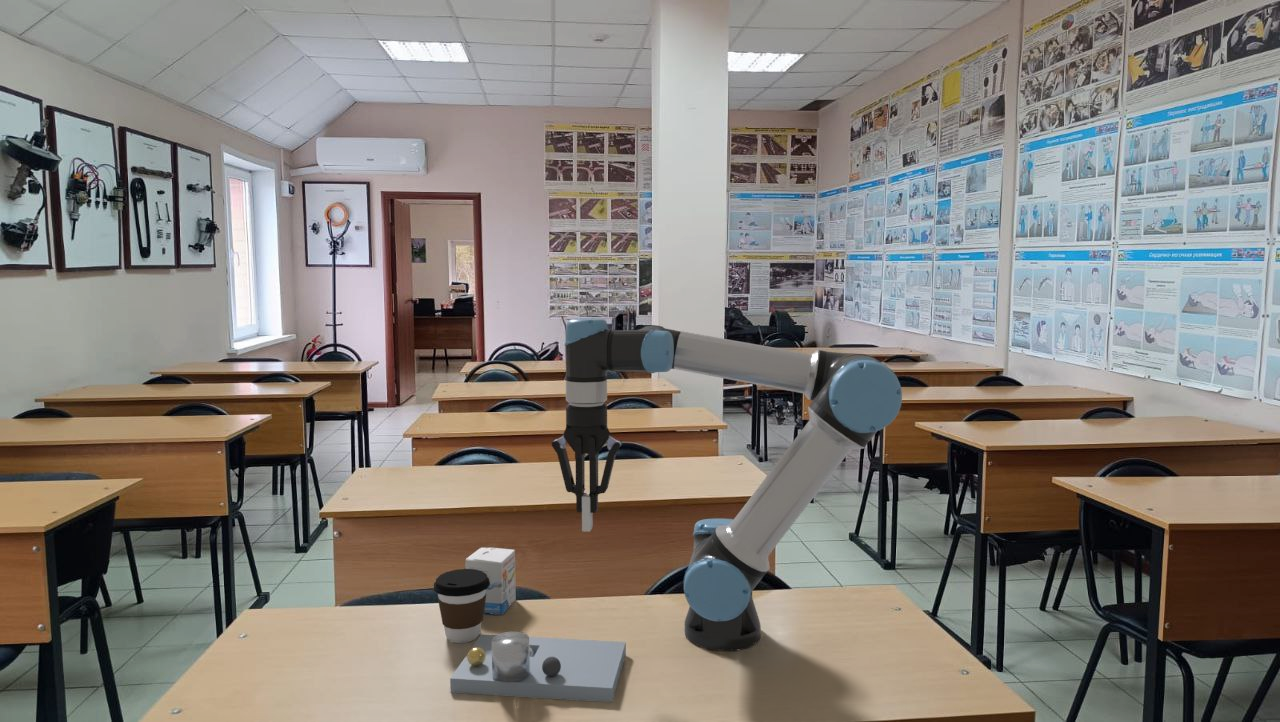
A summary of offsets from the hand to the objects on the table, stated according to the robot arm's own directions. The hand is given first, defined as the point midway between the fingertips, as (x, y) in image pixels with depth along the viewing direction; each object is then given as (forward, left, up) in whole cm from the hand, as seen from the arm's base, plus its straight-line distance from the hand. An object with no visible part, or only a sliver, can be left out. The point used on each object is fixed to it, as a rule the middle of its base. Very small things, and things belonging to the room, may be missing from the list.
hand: (587, 529), depth 145 cm
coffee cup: (+26, -5, -25) cm, 36 cm away
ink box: (+25, -20, -25) cm, 40 cm away
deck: (+7, +8, -24) cm, 26 cm away
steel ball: (+11, +5, -23) cm, 26 cm away
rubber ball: (+4, +13, -20) cm, 24 cm away
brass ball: (+18, +11, -20) cm, 29 cm away
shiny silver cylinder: (+11, +14, -22) cm, 28 cm away
